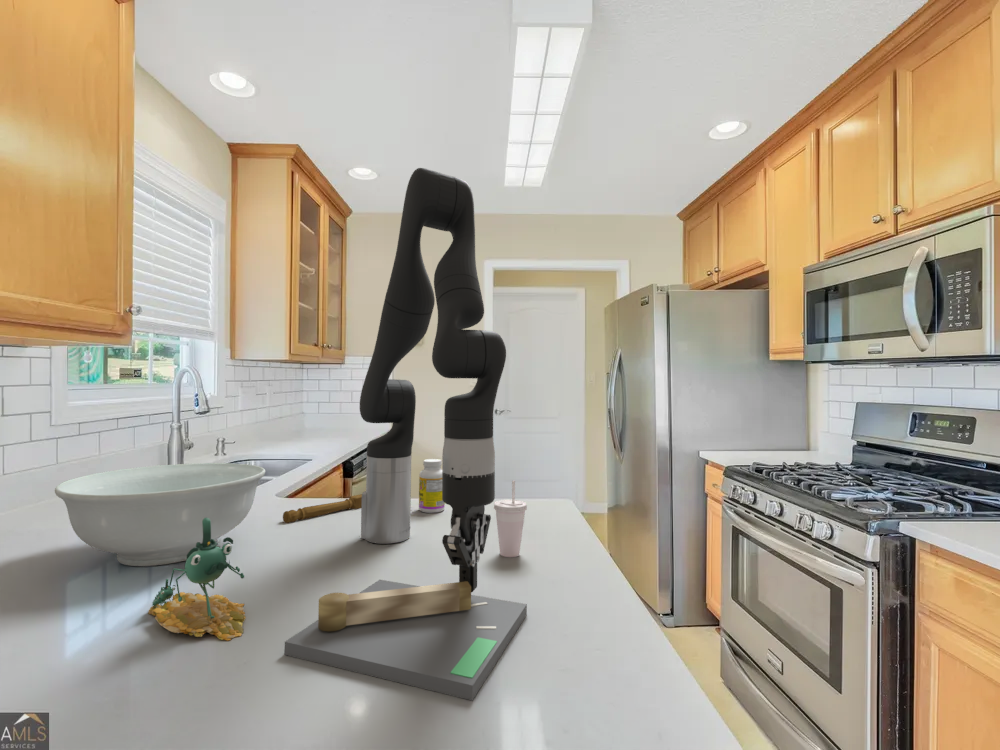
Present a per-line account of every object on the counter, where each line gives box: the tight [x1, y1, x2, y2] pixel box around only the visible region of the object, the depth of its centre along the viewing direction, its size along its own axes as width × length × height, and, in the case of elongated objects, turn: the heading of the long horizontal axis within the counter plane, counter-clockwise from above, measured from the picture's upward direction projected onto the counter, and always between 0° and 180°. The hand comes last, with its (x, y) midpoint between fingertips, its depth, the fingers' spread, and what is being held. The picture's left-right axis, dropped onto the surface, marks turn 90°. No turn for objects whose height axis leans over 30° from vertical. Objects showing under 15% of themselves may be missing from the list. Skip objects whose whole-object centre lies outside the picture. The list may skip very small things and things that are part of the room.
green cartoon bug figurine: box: [147, 518, 247, 642], centre depth 66 cm, size 10×18×15 cm, turn 57°
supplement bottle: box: [418, 458, 446, 514], centre depth 126 cm, size 7×7×13 cm
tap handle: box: [282, 493, 362, 524], centre depth 124 cm, size 3×3×30 cm
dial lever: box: [317, 581, 472, 631], centre depth 64 cm, size 19×4×3 cm, turn 108°
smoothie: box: [493, 480, 528, 558], centre depth 94 cm, size 6×6×14 cm
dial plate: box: [283, 579, 528, 701], centre depth 63 cm, size 24×20×2 cm
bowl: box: [54, 462, 266, 567], centre depth 92 cm, size 32×32×15 cm
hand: (468, 589), depth 70 cm, fingers closed
